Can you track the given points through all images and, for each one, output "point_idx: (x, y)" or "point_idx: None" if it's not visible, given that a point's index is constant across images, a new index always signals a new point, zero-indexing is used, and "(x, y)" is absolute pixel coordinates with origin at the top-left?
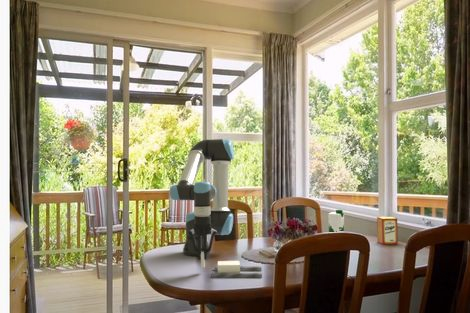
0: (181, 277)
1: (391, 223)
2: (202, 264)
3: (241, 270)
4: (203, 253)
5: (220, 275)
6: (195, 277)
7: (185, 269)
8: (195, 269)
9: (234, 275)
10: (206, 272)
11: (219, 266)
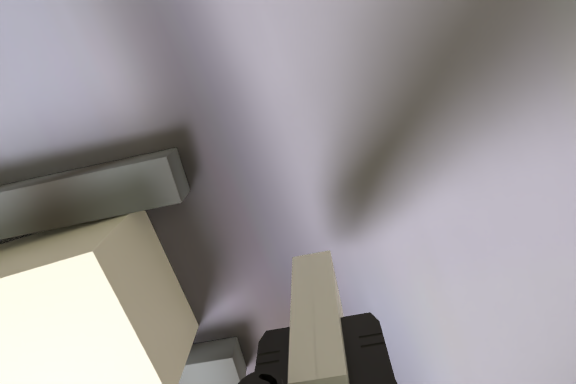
0: (502, 74)
1: None
2: (312, 274)
3: None
4: (296, 380)
5: (85, 171)
6: (347, 110)
7: (527, 323)
8: (428, 339)
9: None
10: None
11: (79, 250)
